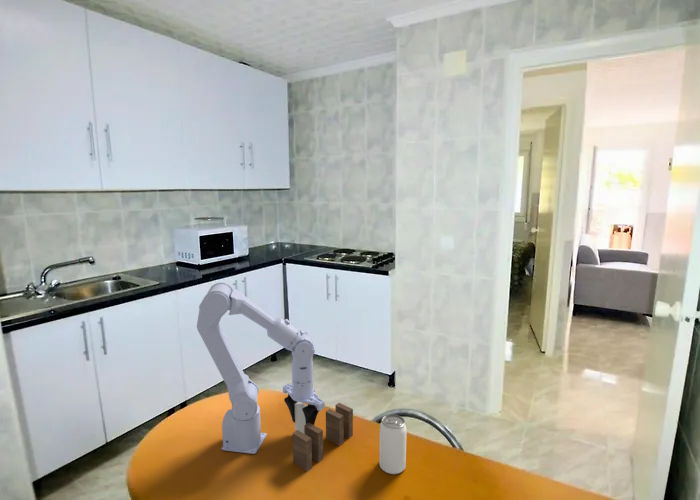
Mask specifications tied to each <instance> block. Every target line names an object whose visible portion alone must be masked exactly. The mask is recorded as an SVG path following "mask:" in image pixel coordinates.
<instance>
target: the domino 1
mask: <svg viewBox="0 0 700 500" xmlns="http://www.w3.org/2000/svg"><path fill="white" fill-rule="evenodd" d="M306 406H308V404H306V403H301V402H297V403H295V423H294V432H295V431H297V430H298V431H300V432H302V433H304V425H306V420H305V415H304V413H303V411H302V408H304V407H306ZM304 434H305V433H304Z"/></svg>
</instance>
